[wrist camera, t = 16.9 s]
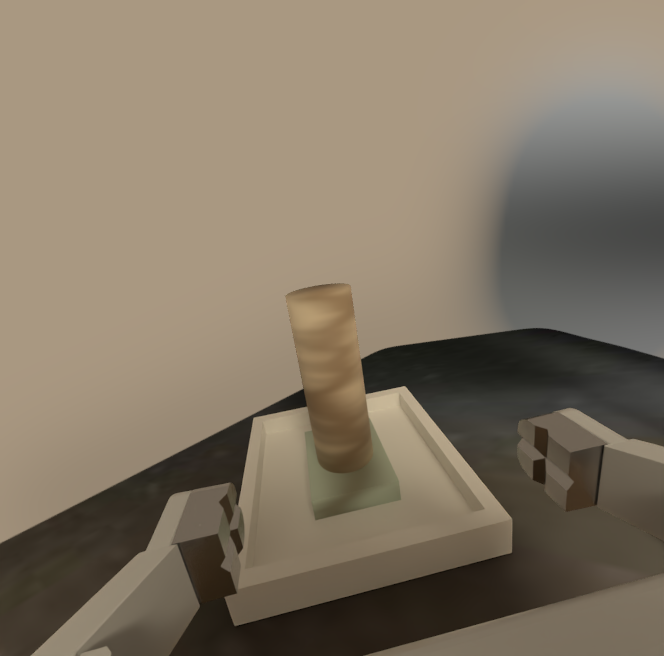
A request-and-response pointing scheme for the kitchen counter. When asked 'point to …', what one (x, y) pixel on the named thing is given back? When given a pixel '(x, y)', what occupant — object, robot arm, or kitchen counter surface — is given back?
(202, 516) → the robot arm
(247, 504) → the tray
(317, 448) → the cat scratching post
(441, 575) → the kitchen counter surface
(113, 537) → the kitchen counter surface
